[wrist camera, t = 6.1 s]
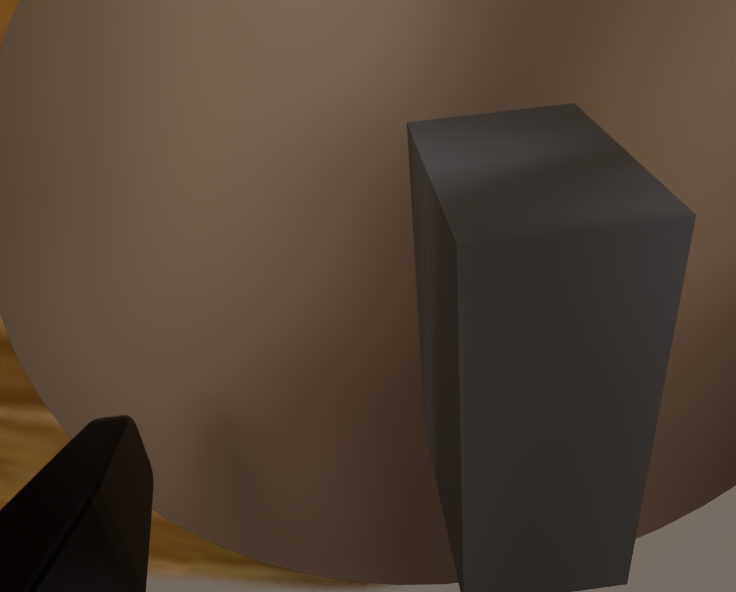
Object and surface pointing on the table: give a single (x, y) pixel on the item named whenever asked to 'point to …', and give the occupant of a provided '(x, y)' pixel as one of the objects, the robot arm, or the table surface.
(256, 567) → the table surface
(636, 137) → the walnut lid
